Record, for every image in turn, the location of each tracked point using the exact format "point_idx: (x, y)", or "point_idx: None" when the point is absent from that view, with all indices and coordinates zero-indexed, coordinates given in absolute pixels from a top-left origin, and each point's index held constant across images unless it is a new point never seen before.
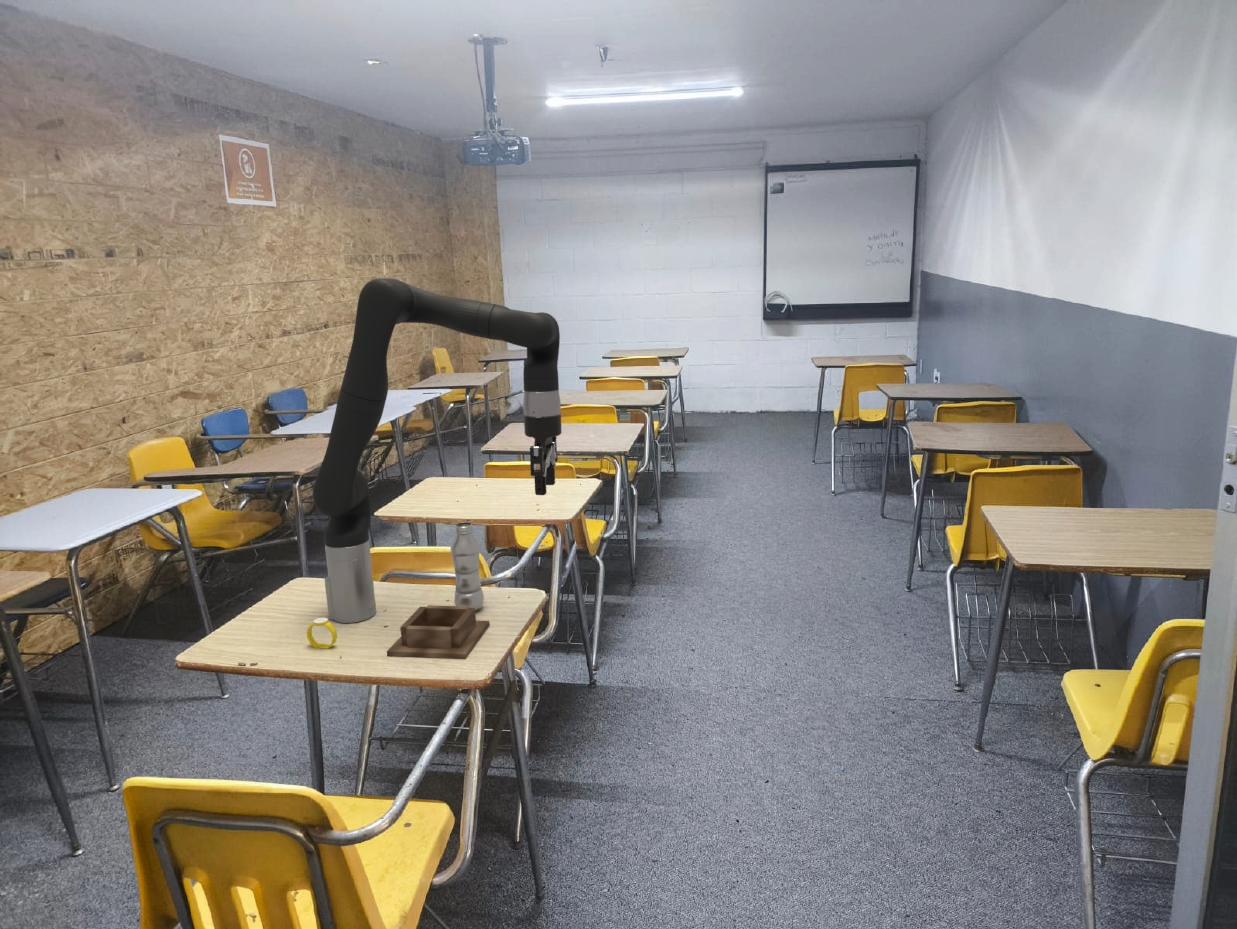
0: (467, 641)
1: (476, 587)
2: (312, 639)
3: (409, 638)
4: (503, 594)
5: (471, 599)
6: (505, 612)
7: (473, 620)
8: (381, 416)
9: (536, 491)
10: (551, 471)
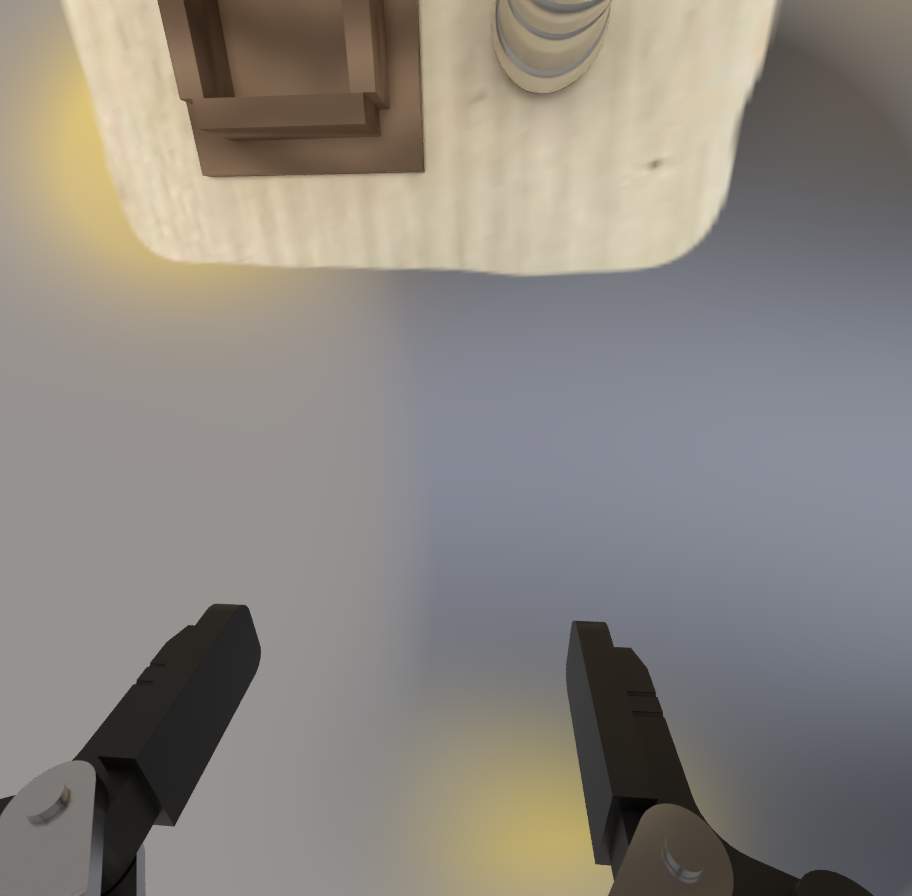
0: (274, 150)
1: (526, 55)
2: None
3: None
4: (685, 131)
5: (500, 51)
6: (524, 194)
7: (351, 131)
8: None
9: (174, 638)
10: (591, 799)
